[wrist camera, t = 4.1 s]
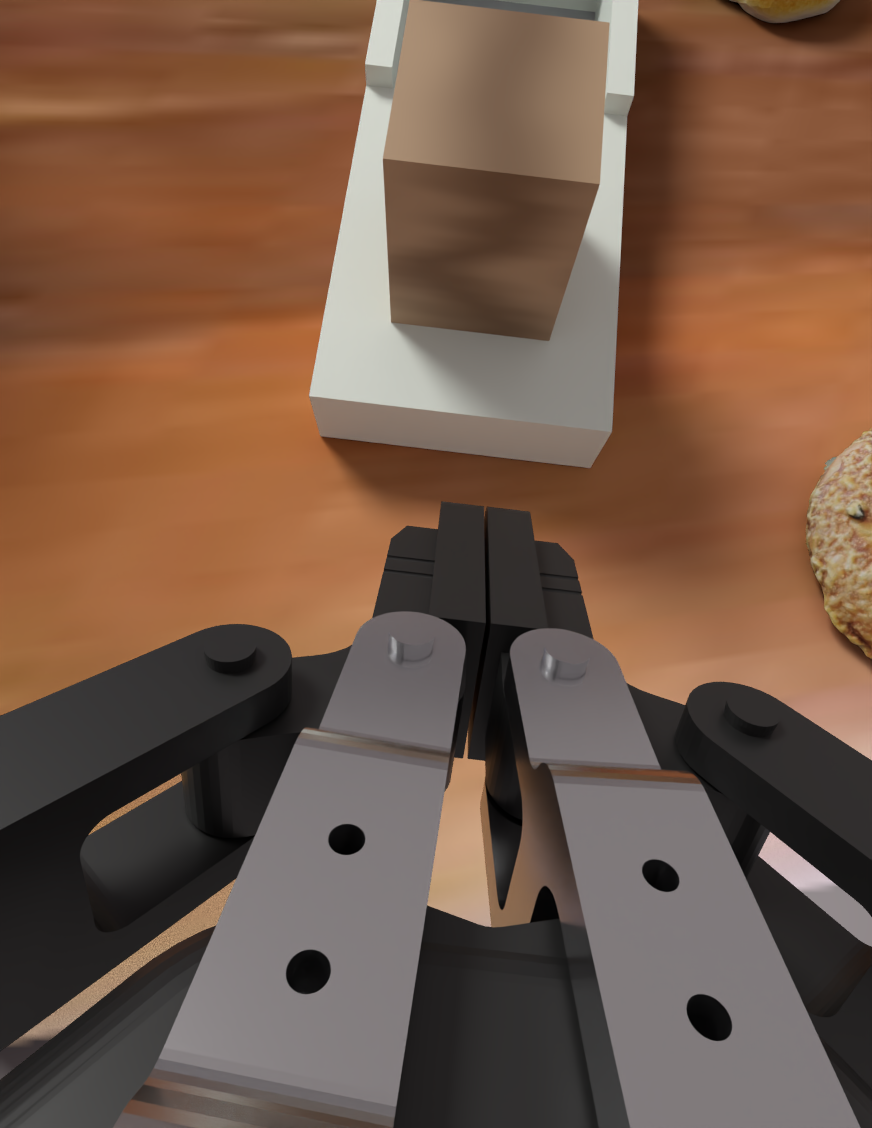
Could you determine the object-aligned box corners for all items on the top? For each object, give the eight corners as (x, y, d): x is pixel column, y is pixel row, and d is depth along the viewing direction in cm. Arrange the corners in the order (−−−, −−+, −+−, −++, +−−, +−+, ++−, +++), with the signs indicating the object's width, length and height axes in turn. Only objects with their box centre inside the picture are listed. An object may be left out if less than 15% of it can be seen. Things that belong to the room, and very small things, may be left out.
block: (391, 322, 28) (382, 158, 21) (410, 193, 30) (409, -2, 22) (549, 341, 28) (599, 183, 21) (559, 211, 30) (609, 22, 22)
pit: (371, 150, 35) (364, 64, 31) (401, -24, 38) (400, -124, 34) (606, 178, 35) (634, 95, 31) (616, 1, 38) (642, -95, 34)
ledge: (320, 436, 31) (309, 395, 27) (371, 150, 35) (366, 85, 32) (590, 468, 31) (611, 432, 27) (606, 178, 35) (627, 115, 32)
